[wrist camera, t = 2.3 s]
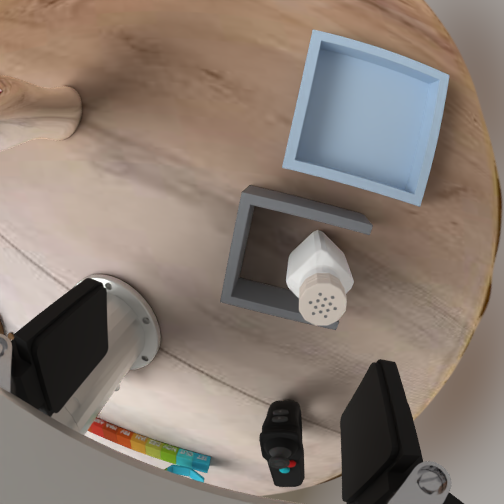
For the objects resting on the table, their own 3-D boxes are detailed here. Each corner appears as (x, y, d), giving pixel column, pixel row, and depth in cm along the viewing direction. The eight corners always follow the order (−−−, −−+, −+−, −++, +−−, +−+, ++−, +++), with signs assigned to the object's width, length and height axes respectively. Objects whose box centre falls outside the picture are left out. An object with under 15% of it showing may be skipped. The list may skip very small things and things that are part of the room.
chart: (211, 454, 42) (186, 534, 28) (209, 464, 43) (186, 540, 29) (47, 391, 44) (1, 445, 30) (51, 403, 45) (8, 456, 31)
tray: (408, 200, 26) (420, 206, 24) (283, 165, 27) (282, 167, 24) (435, 80, 22) (449, 75, 19) (311, 40, 23) (312, 29, 20)
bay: (332, 307, 31) (335, 330, 27) (229, 282, 31) (220, 301, 28) (363, 214, 27) (372, 225, 24) (249, 185, 28) (241, 192, 24)
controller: (302, 379, 34) (299, 448, 25) (308, 442, 38) (305, 503, 29) (264, 381, 35) (252, 448, 26) (276, 443, 39) (268, 503, 29)
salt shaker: (317, 225, 28) (325, 264, 20) (347, 255, 29) (365, 305, 20) (286, 255, 30) (279, 304, 21) (316, 283, 30) (320, 341, 21)
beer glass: (45, 84, 27) (-60, 80, 13) (90, 81, 26) (-24, 67, 12) (38, 143, 29) (-68, 161, 15) (81, 146, 29) (-34, 164, 15)
